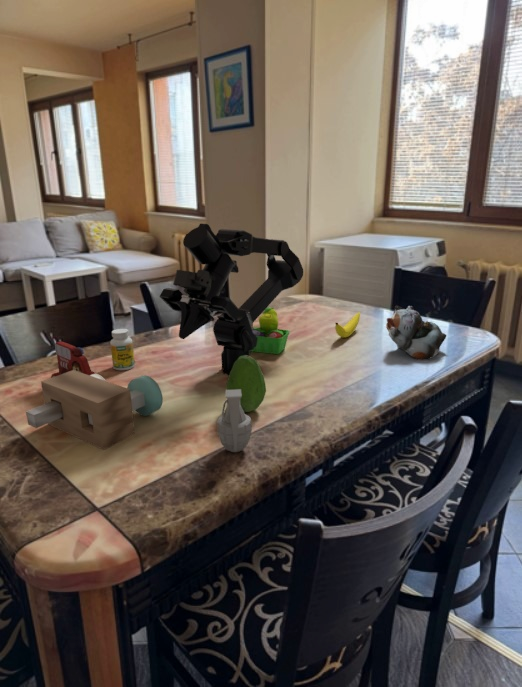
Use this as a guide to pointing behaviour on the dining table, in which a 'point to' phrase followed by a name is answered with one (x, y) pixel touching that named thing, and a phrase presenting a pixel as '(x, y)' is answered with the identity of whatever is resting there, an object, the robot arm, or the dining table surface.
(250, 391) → the avocado
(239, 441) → the hand grenade
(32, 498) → the dining table surface
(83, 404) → the walnut mount
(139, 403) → the teal knob
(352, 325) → the banana
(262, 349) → the fruit basket
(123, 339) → the supplement bottle
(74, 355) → the toy fire truck
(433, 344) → the lucky cat figurine
